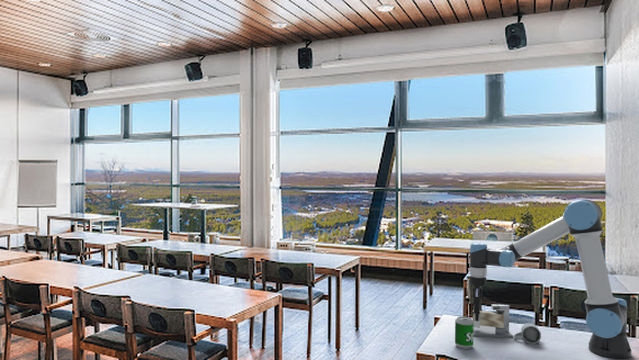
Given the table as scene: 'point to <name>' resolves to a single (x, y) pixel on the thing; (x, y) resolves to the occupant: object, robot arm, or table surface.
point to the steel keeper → (506, 314)
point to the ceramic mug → (529, 334)
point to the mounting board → (491, 332)
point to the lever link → (492, 318)
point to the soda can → (464, 332)
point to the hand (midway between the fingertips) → (477, 326)
